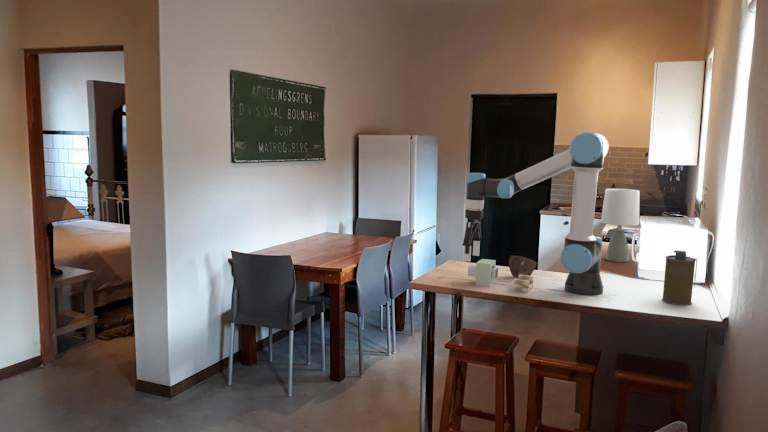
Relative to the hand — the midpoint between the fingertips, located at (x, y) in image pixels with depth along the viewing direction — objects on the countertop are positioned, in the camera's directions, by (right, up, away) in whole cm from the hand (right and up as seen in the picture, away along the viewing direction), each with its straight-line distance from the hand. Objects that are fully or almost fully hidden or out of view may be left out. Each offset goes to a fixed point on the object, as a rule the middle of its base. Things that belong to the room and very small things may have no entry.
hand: (471, 258), depth 255 cm
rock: (+24, -10, +11) cm, 28 cm away
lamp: (+85, -5, +56) cm, 102 cm away
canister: (+77, -15, -23) cm, 82 cm away
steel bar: (+5, -8, -1) cm, 9 cm away
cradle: (+20, -12, -8) cm, 25 cm away
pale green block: (+6, -11, -1) cm, 12 cm away
